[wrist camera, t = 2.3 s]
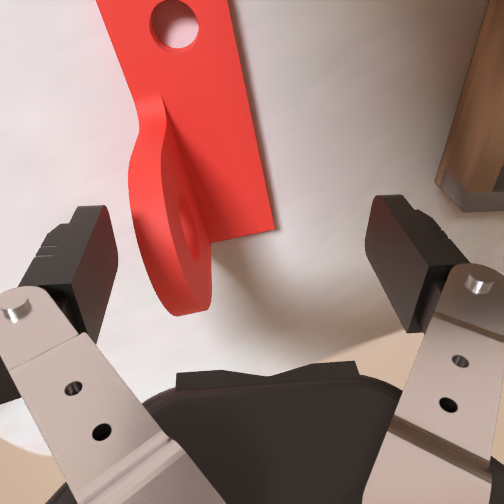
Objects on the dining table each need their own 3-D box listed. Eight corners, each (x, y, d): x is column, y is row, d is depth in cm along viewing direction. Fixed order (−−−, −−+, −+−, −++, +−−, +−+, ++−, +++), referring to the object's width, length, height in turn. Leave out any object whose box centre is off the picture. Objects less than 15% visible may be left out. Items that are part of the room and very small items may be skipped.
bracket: (272, 217, 22) (298, 328, 16) (190, 235, 22) (184, 352, 16) (214, -57, 15) (222, -51, 9) (94, -26, 15) (14, 2, 9)
